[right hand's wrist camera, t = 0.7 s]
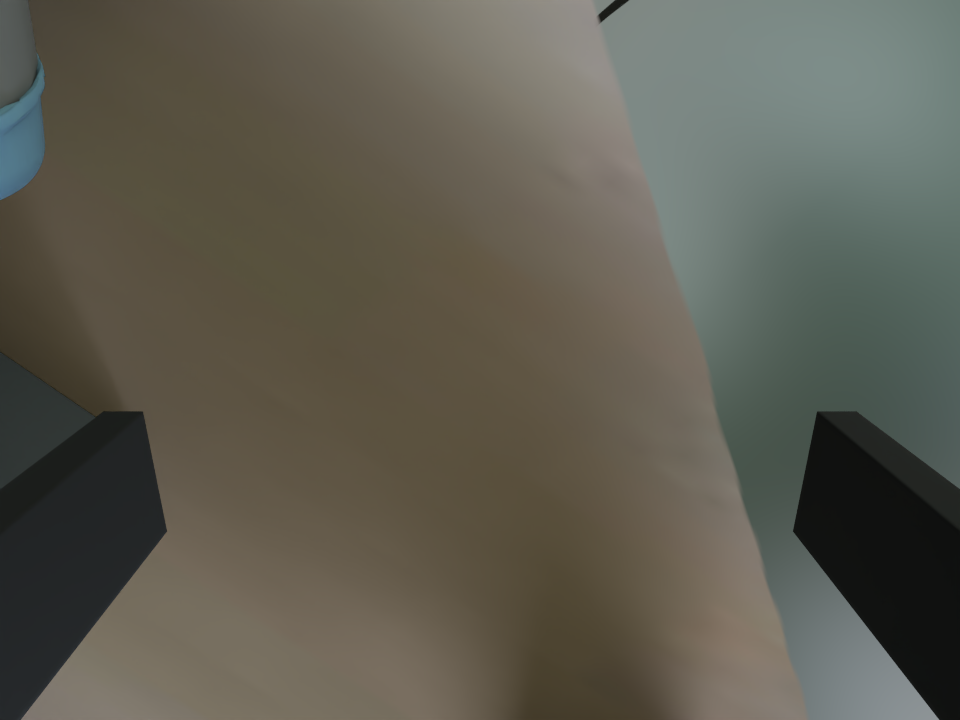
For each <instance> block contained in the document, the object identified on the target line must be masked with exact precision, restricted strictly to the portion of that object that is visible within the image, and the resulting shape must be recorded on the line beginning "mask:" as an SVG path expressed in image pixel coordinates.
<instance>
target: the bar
mask: <svg viewBox="0 0 960 720" xmlns="http://www.w3.org/2000/svg"><path fill="white" fill-rule="evenodd" d="M94 418H96V417H94V416H93V415H92V414H90V413H89V412H87V411H86V410H84V409H83V408H81V407H80V406H78V405H77V404H75V403H74V402H73V401H71V400H70V399H68V398H67V397H65V396H64V395H62V394H61V393H59V392H58V391H56V390H55V389H53V388H52V387H51V386H49V385H48V384H46V383H45V382H43V381H42V380H40V379H39V378H37V377H36V376H34V375H33V374H32V373H30V372H29V371H27V370H26V369H24V368H23V367H21V366H20V365H18V364H17V363H15V362H14V361H12V360H11V359H10V358H8V357H7V356H5V355H4V354H2V353H1V352H0V489H1V488H3V487H4V486H5V485H7V484H8V483H9V482H11V481H12V480H13V479H14V478H16V477H17V476H18V475H20V474H21V473H22V472H24V471H25V470H26V469H28V468H29V467H30V466H32V465H33V464H34V463H36V462H37V461H38V460H40V459H41V458H42V457H44V456H45V455H46V454H48V453H49V452H50V451H52V450H53V449H54V448H56V447H57V446H58V445H60V444H61V443H62V442H64V441H65V440H66V439H68V438H69V437H70V436H72V435H73V434H74V433H76V432H77V431H78V430H80V429H81V428H82V427H84V426H85V425H86V424H88V423H89V422H90V421H92V420H93V419H94Z"/></svg>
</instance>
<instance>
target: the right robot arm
mask: <svg viewBox="0 0 960 720" xmlns="http://www.w3.org/2000/svg"><path fill="white" fill-rule="evenodd" d="M166 532H167V529H166V524H165V519H164V514H163V509H162V504H161V499H160V494H159V490H158V485H157V480H156V475H155V470H154V465H153V460H152V455H151V450H150V445H149V440H148V435H147V430H146V425H145V420H144V415H143V412H102V413H101V414H100V415H98V416H97V417H96V418H94V419H93V420H92V421H90V422H89V423H88V424H86V425H85V426H84V427H82V428H81V429H80V430H78V431H77V432H76V433H74V434H73V435H72V436H70V437H69V438H68V439H66V440H65V441H64V442H62V443H61V444H60V445H58V446H57V447H56V448H54V449H53V450H52V451H50V452H49V453H48V454H46V455H45V456H44V457H42V458H41V459H40V460H38V461H37V462H36V463H34V464H33V465H32V466H30V467H29V468H28V469H26V470H25V471H24V472H22V473H21V474H20V475H18V476H17V477H16V478H14V479H13V480H12V481H11V482H9V483H8V484H7V485H5V486H4V487H3V488H1V489H0V720H21V719H22V717H23V716H24V715H25V713H26V712H27V711H28V710H29V708H30V707H31V706H32V704H33V703H34V702H35V701H36V699H37V698H38V697H39V695H40V694H41V693H42V692H43V690H44V689H45V688H46V686H47V685H48V684H49V683H50V681H51V680H52V679H53V677H54V676H55V675H56V674H57V672H58V671H59V670H60V668H61V667H62V666H63V665H64V663H65V662H66V661H67V659H68V658H69V657H70V656H71V654H72V653H73V652H74V650H75V649H76V648H77V647H78V645H79V644H80V643H81V641H82V640H83V639H84V637H85V636H86V635H87V634H88V632H89V631H90V630H91V628H92V627H93V626H94V625H95V623H96V622H97V621H98V619H99V618H100V617H101V616H102V614H103V613H104V612H105V610H106V609H107V608H108V607H109V605H110V604H111V603H112V601H113V600H114V599H115V598H116V596H117V595H118V594H119V592H120V591H121V590H122V589H123V587H124V586H125V585H126V583H127V582H128V581H129V580H130V578H131V577H132V576H133V574H134V573H135V572H136V571H137V569H138V568H139V567H140V565H141V564H142V563H143V562H144V560H145V559H146V558H147V556H148V555H149V554H150V553H151V551H152V550H153V549H154V547H155V546H156V545H157V544H158V542H159V541H160V540H161V538H162V537H163V536H164V534H165V533H166ZM793 532H794V533H795V534H796V536H797V537H798V538H799V540H800V541H801V542H802V544H803V545H804V546H805V547H806V549H807V550H808V551H809V553H810V554H811V555H812V556H813V558H814V559H815V560H816V562H817V563H818V564H819V565H820V567H821V568H822V569H823V571H824V572H825V573H826V574H827V576H828V577H829V578H830V580H831V581H832V582H833V583H834V585H835V586H836V587H837V589H838V590H839V591H840V592H841V594H842V595H843V596H844V598H845V599H846V600H847V601H848V603H849V604H850V605H851V607H852V608H853V609H854V610H855V612H856V613H857V614H858V616H859V617H860V618H861V619H862V621H863V622H864V623H865V625H866V626H867V627H868V628H869V630H870V631H871V632H872V634H873V635H874V636H875V638H876V639H877V640H878V641H879V643H880V644H881V645H882V646H883V648H884V649H885V650H886V652H887V653H888V654H889V656H890V657H891V658H892V659H893V661H894V662H895V663H896V664H897V666H898V667H899V668H900V670H901V671H902V672H903V674H904V675H905V676H906V677H907V679H908V680H909V681H910V683H911V684H912V685H913V686H914V688H915V689H916V690H917V692H918V693H919V694H920V695H921V697H922V698H923V699H924V701H925V702H926V703H927V704H928V706H929V707H930V708H931V710H932V711H933V712H934V713H935V715H936V716H937V717H938V718H939V720H960V489H959V488H957V487H956V486H955V485H953V484H952V483H951V482H949V481H948V480H947V479H946V478H944V477H943V476H941V475H940V474H939V473H938V472H936V471H935V470H934V469H932V468H931V467H929V466H928V465H927V464H926V463H924V462H923V461H921V460H920V459H919V458H918V457H916V456H915V455H914V454H912V453H911V452H910V451H908V450H907V449H906V448H904V447H903V446H902V445H900V444H899V443H898V442H896V441H895V440H894V439H892V438H891V437H890V436H888V435H887V434H886V433H884V432H883V431H882V430H880V429H879V428H878V427H876V426H875V425H874V424H872V423H871V422H870V421H868V420H867V419H866V418H864V417H863V416H862V415H860V414H859V413H858V412H817V415H816V420H815V425H814V430H813V435H812V440H811V445H810V450H809V455H808V460H807V465H806V470H805V475H804V480H803V485H802V490H801V494H800V500H799V505H798V509H797V514H796V519H795V524H794V529H793Z"/></svg>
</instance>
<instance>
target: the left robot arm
mask: <svg viewBox="0 0 960 720" xmlns="http://www.w3.org/2000/svg"><path fill="white" fill-rule="evenodd" d="M628 1H629V0H615V1H613V2H612V3H611V4H610V5H609V6H608V7H606V8H605V9H604V10H603V11H602V12H601V13H600V14H599V15H598V20H599V24H600V23H601V22H602V21H604V20H605V19H606V18H607V17H608V16H610V15H611V14H612V13H613V12H615V11H616V10H617V9H619V8H620V7H621V6H623V5H624V4H625V3H626V2H628ZM44 77H45V74H44V70H43V65H42V63H41V61H40V59H39V56H38V54H37V52H36V46H35V40H34V34H33V28H32V22H31V16H30V10H29V3H28V0H0V200H2V199H4V198H6V197H8V196H10V195H12V194H14V193H15V192H17V191H19V190H20V189H22V188H23V187H24V186H25V185H27V184H28V183H29V182H30V181H31V180H32V179H33V177H34V176H35V175H36V174H37V172H38V170H39V168H40V166H41V164H42V161H43V157H44V153H45V140H44V129H43V118H42V107H41V94H42V93H43V90H44V87H45V83H44Z"/></svg>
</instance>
